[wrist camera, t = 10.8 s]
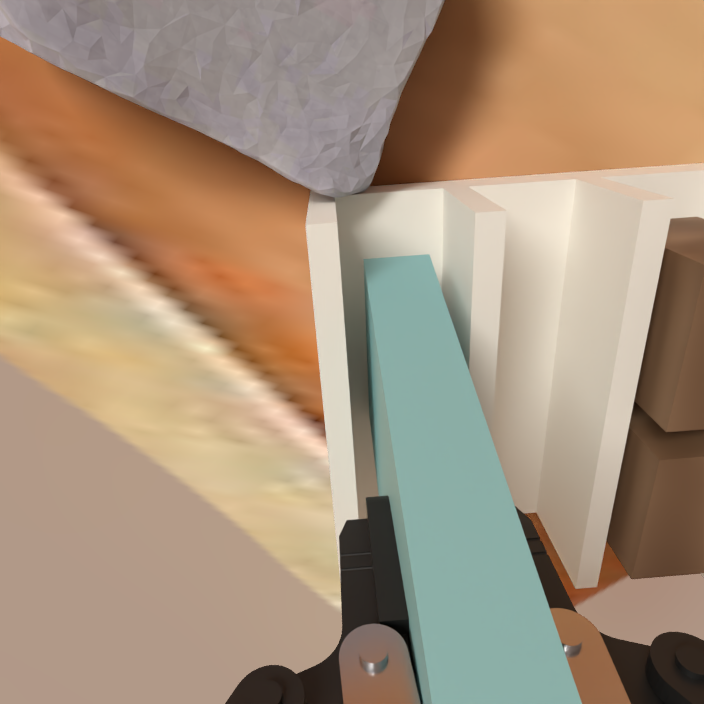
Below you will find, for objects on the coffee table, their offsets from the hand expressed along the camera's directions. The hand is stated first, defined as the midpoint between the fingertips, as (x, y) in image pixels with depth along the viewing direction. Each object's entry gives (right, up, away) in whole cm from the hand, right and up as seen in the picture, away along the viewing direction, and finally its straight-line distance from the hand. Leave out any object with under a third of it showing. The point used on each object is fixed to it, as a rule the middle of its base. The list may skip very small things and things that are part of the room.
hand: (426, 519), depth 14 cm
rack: (+4, +4, +8) cm, 10 cm away
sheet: (0, +5, +5) cm, 7 cm away
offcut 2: (+9, +1, +8) cm, 12 cm away
